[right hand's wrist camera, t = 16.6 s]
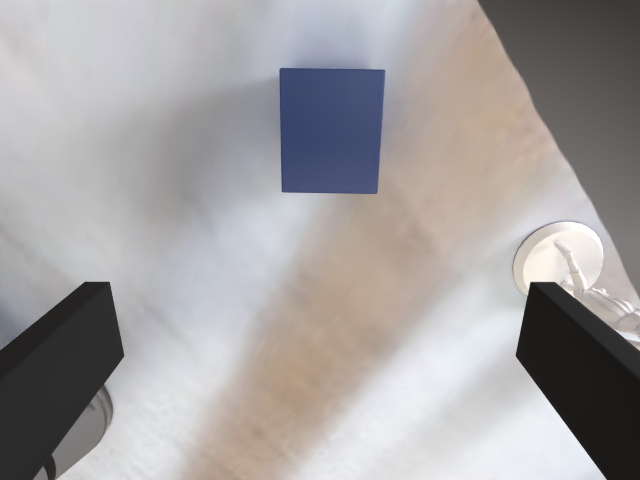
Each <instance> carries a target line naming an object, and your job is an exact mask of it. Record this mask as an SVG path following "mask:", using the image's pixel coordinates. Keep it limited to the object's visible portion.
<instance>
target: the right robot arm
mask: <svg viewBox="0 0 640 480" xmlns="http://www.w3.org/2000/svg"><path fill="white" fill-rule="evenodd" d="M123 357H124V352H123V347H122V342H121V337H120V332H119V326H118V321H117V316H116V311H115V306H114V301H113V296H112V291H111V286H110V282H84V283H83V284H82V285H81V286H79V287H78V288H77V289H76V290H74V291H73V292H72V293H71V294H69V295H68V296H67V297H66V298H65V299H63V300H62V301H61V302H60V303H58V304H57V305H56V306H55V307H53V308H52V309H51V310H50V311H49V312H47V313H46V314H45V315H44V316H42V317H41V318H40V319H39V320H37V321H36V322H35V323H34V324H33V325H31V326H30V327H29V328H28V329H26V330H25V331H24V332H23V333H21V334H20V335H19V336H18V337H17V338H15V339H14V340H13V341H12V342H10V343H9V344H8V345H7V346H5V347H4V348H3V349H2V350H1V351H0V480H56V479H57V478H58V477H60V476H61V475H62V474H63V473H64V472H66V471H67V470H68V469H69V468H71V467H72V466H73V465H74V464H75V463H77V462H78V461H79V460H80V459H81V458H83V457H84V456H85V455H86V454H87V453H89V452H90V451H91V450H92V449H93V448H94V447H95V446H96V445H97V444H98V443H99V442H100V440H101V439H102V437H103V436H104V434H105V432H106V431H107V429H108V427H109V425H110V423H111V419H112V406H111V402H110V399H109V396H108V394H107V392H106V390H105V389H104V387H103V384H104V383H105V382H106V380H107V379H108V378H109V376H110V375H111V373H112V372H113V371H114V369H115V368H116V367H117V365H118V364H119V363H120V361H121V360H122V359H123ZM516 357H517V359H518V360H519V361H520V363H521V364H522V365H523V367H524V368H525V369H526V371H527V372H528V373H529V375H530V376H531V378H532V379H533V380H534V382H535V383H536V384H537V386H538V387H539V388H540V390H541V391H542V392H543V394H544V395H545V396H546V398H547V399H548V401H549V402H550V403H551V405H552V406H553V407H554V409H555V410H556V411H557V413H558V414H559V415H560V417H561V418H562V420H563V421H564V422H565V424H566V425H567V426H568V428H569V429H570V430H571V432H572V433H573V434H574V436H575V437H576V438H577V440H578V441H579V443H580V444H581V445H582V447H583V448H584V449H585V451H586V452H587V453H588V455H589V456H590V457H591V459H592V460H593V462H594V463H595V464H596V466H597V467H598V468H599V470H600V471H601V472H602V474H603V475H604V476H605V478H606V479H607V480H640V351H639V350H638V349H637V348H636V347H635V346H633V345H632V344H631V343H630V342H628V341H627V340H626V339H625V338H623V337H622V336H621V335H620V334H619V333H617V332H616V331H615V330H614V329H612V328H611V327H610V326H609V325H607V324H606V323H605V322H604V321H603V320H601V319H600V318H599V317H598V316H596V315H595V314H594V313H593V312H591V311H590V310H589V309H588V308H587V307H585V306H584V305H583V304H582V303H580V302H579V301H578V300H577V299H575V298H574V297H573V296H572V295H571V294H569V293H568V292H567V291H566V290H564V289H563V288H562V287H561V286H559V285H558V284H557V283H556V282H530V286H529V291H528V296H527V301H526V306H525V311H524V316H523V321H522V326H521V332H520V337H519V342H518V347H517V352H516Z"/></svg>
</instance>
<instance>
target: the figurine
mask: <svg viewBox="0 0 640 480" xmlns="http://www.w3.org/2000/svg"><path fill="white" fill-rule="evenodd" d="M602 265H603V248H602V244H601V242H600V239H599V238H598V236H597V235H596V233H595V232H594V231H592V230H591V229H590V228H589V227H587V226H585V225H583V224H579V223H575V222H559V223H554V224H550V225H547V226H545V227H543V228H541V229H539V230H537V231H536V232H535V233H533V234H532V235H531V236H529V238H528V239H527V240H526V241H525V242H524V243H523V244H522V246H521V247H520V248H519V250H518V252H517V254H516V257H515V260H514V264H513V275H514V279H515V282H516V284H517V286H518V288H519V289H520V290H521V291H522V292H523V293H524V294H525V295H526V296H528V291H529V286H530V282H556V283H557V284H558V285H559V286H561V287H562V288H563V289H564V290H566V291H567V292H568V293H569V294H571V295H572V296H573V297H576V298H578V299H580V300H581V303H582V304H583V305H584V306H585V307H587V308H588V309H589V310H590V311H591V312H593V313H594V314H595V315H596V316H598V317H599V318H600V319H601V320H603V321H604V322H605V323H606V324H607V325H609V326H610V327H611V328H613V329H616V330H618V331H621V332H627V333H631V334H634V335H637V336H638V337H639V338H640V307H639V306H637V305H635V304H633V303H631V302H629V301H626V300H621V299H618V298H616V297H613V296H610V295H608V294H606V292H605V290H604V289H603V288H602V289H600V290H596V289H594V288H593V289H594V290H595V291H596V293H593V292H591V291H586V290H587V289H588V288H589V287H591V286H592V284H593V283H594V282H595V281H596V279H597V278H598V276H599V274H600V272H601V269H602ZM626 340H627V339H626ZM627 341H628V342H630V343H631V344H632V345H633V346H635V347H636V348H637V349H638V350H639V351H640V342H636V341H631V340H627Z"/></svg>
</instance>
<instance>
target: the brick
mask: <svg viewBox="0 0 640 480" xmlns="http://www.w3.org/2000/svg"><path fill="white" fill-rule="evenodd" d="M384 84H385V70H367V69H303V68H280V119H281V173H282V192H294V193H355V194H377V190H378V175H379V160H380V145H381V129H382V114H383V99H384Z"/></svg>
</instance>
